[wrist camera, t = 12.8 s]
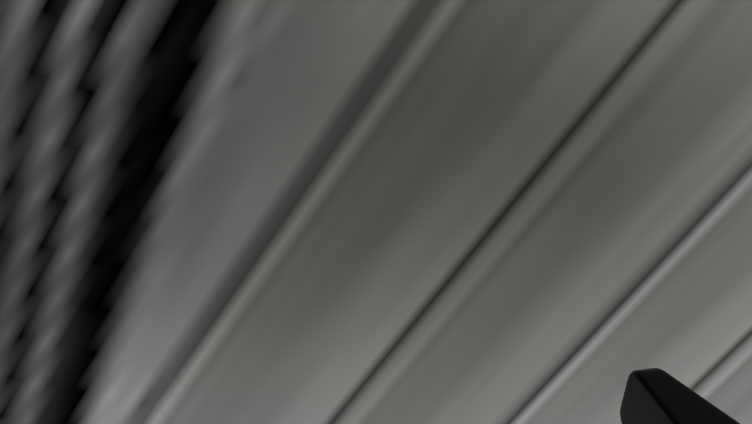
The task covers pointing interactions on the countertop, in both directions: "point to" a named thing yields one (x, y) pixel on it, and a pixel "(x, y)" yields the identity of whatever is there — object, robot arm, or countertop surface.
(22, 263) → the countertop surface
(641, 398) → the robot arm
